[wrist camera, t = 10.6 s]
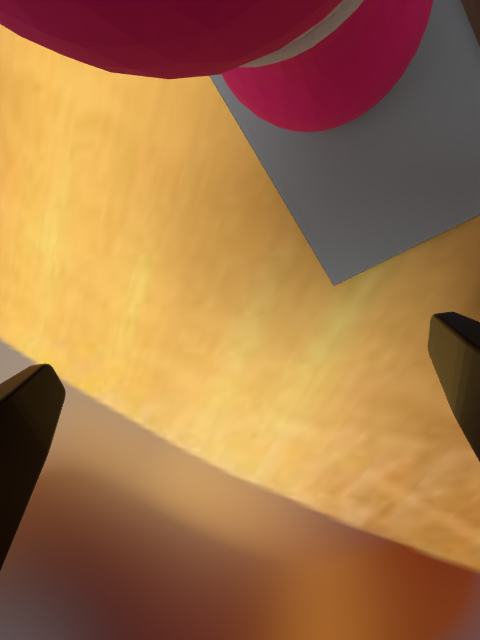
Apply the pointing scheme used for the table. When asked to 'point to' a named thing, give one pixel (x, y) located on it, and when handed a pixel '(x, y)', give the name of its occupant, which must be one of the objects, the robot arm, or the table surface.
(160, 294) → the table surface
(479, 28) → the stop bar
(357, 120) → the mat
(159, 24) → the pepper mill
